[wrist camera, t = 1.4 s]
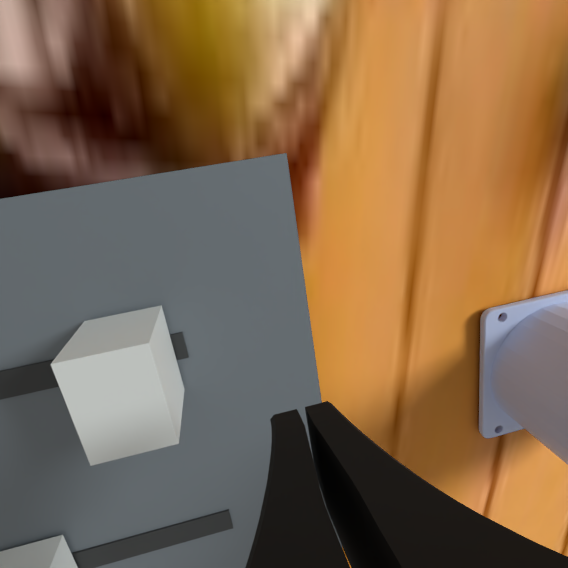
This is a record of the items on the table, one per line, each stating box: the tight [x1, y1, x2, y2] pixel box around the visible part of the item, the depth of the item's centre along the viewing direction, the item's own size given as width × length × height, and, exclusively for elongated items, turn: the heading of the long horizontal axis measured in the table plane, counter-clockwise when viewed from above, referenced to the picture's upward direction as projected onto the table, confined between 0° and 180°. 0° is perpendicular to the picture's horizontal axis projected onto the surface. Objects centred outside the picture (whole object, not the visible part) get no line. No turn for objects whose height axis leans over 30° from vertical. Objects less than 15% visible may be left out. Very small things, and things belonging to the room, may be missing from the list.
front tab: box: [51, 305, 184, 466], centre depth 14 cm, size 3×4×4 cm
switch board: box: [0, 153, 342, 568], centre depth 18 cm, size 20×24×1 cm
